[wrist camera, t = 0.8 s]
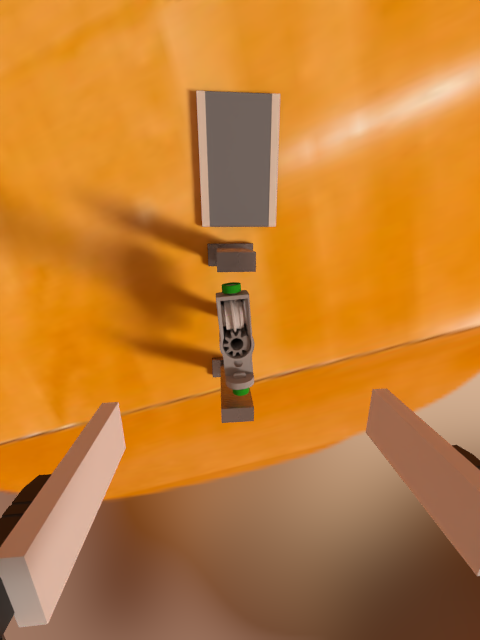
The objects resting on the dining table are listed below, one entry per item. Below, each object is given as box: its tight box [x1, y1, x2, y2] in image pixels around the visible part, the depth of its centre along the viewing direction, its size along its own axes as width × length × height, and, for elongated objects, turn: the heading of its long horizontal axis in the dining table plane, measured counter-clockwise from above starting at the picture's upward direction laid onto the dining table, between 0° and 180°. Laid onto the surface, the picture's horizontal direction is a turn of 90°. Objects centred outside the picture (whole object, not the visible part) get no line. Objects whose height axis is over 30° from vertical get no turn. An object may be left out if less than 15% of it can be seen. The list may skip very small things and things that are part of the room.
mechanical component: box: [216, 283, 254, 396], centre depth 27 cm, size 3×10×10 cm, turn 5°
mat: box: [196, 91, 280, 227], centre depth 27 cm, size 12×8×1 cm, turn 1°
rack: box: [208, 244, 256, 423], centre depth 27 cm, size 16×5×10 cm, turn 1°
